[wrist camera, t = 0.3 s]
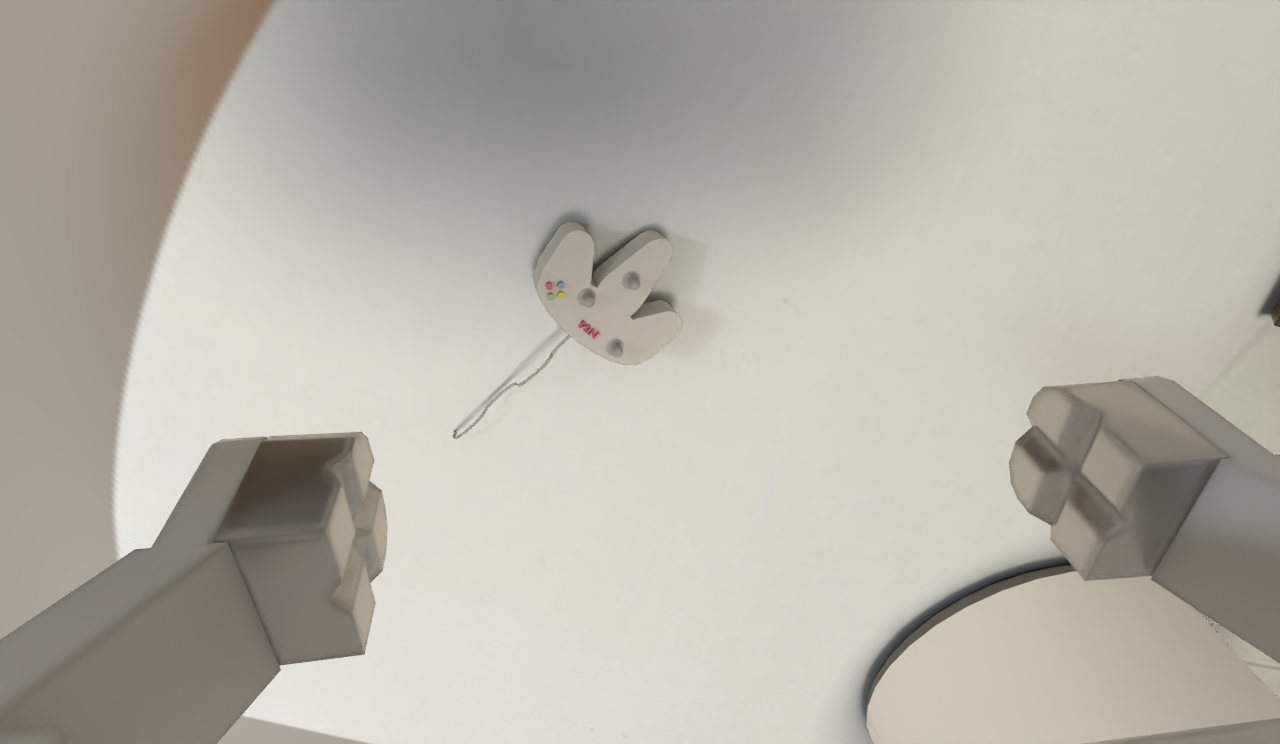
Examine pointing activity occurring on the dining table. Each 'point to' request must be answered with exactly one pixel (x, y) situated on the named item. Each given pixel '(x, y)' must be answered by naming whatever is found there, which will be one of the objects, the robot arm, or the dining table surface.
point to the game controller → (605, 297)
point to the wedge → (1276, 315)
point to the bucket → (1062, 667)
